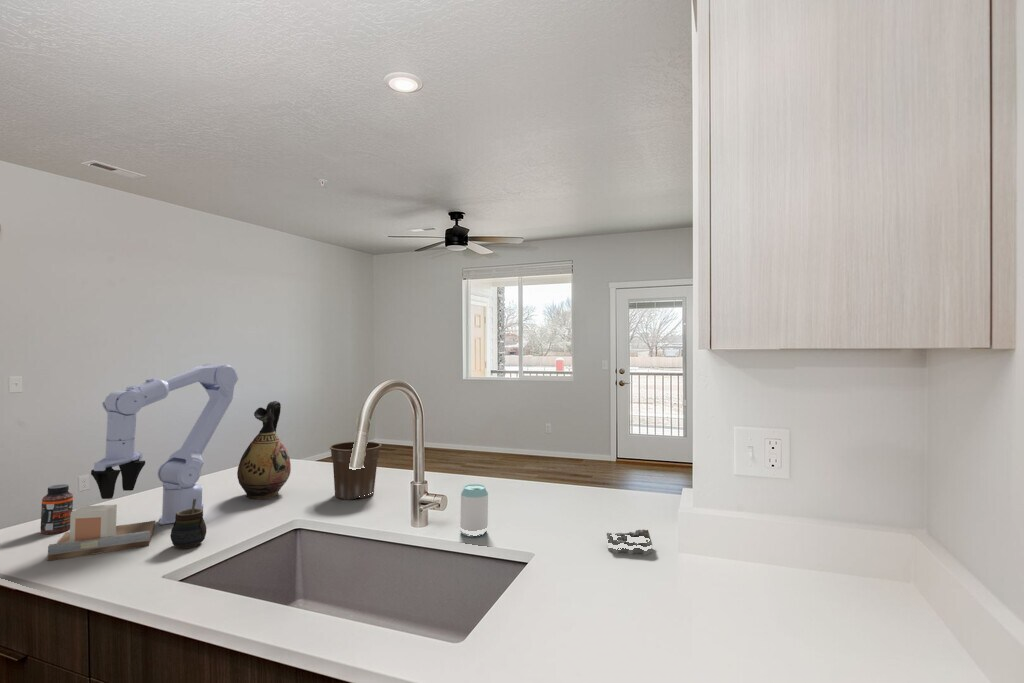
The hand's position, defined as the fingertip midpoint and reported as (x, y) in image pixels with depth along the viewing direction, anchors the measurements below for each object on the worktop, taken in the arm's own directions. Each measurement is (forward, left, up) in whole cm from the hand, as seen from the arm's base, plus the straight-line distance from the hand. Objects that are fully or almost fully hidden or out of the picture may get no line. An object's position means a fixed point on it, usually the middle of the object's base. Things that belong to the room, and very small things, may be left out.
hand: (117, 494), depth 125 cm
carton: (+4, +6, -9) cm, 12 cm away
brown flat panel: (+2, +3, -10) cm, 11 cm away
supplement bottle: (+14, -12, -11) cm, 21 cm away
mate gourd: (-15, +15, -11) cm, 24 cm away
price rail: (+2, +10, -9) cm, 14 cm away
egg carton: (-106, +68, -11) cm, 127 cm away
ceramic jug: (-35, -23, -11) cm, 44 cm away
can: (-78, +41, -11) cm, 89 cm away
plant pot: (-60, -9, -11) cm, 62 cm away
